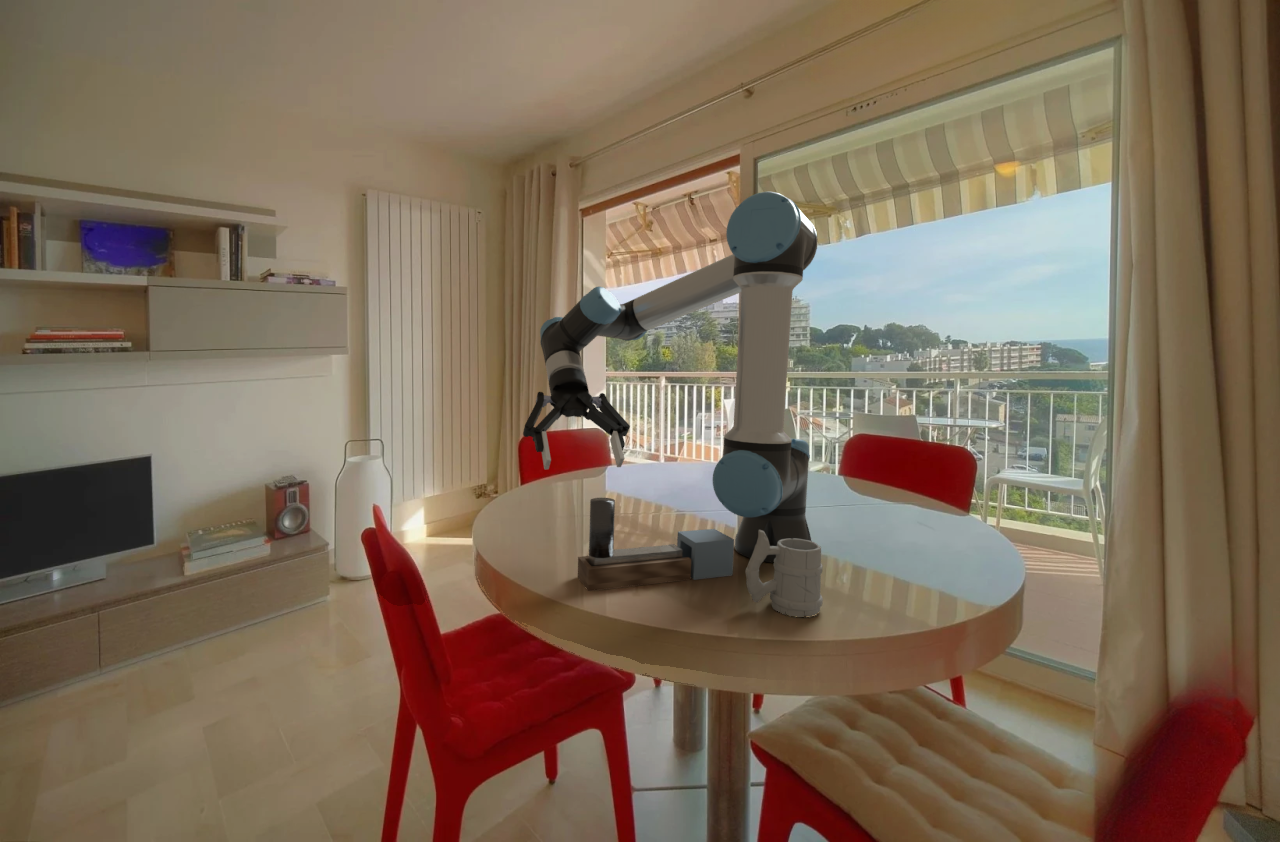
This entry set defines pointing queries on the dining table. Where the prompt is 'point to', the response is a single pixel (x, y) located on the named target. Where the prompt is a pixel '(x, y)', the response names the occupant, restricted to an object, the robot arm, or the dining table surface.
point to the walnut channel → (632, 573)
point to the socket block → (707, 552)
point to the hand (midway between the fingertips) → (585, 464)
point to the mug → (788, 575)
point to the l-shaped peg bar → (604, 540)
